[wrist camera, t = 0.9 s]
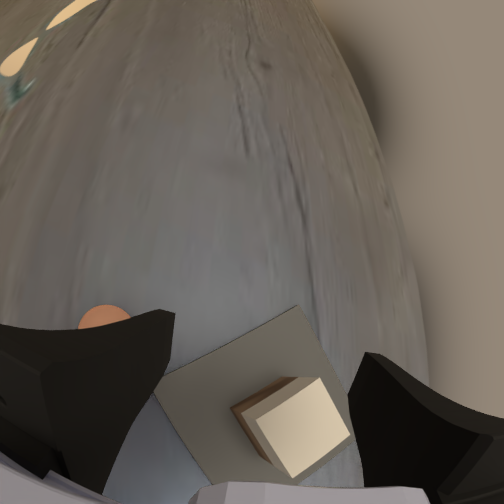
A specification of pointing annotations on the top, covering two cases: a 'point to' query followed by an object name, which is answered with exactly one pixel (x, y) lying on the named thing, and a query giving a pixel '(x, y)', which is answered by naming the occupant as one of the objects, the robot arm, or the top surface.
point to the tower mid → (297, 425)
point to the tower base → (252, 401)
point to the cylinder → (102, 316)
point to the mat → (239, 388)
